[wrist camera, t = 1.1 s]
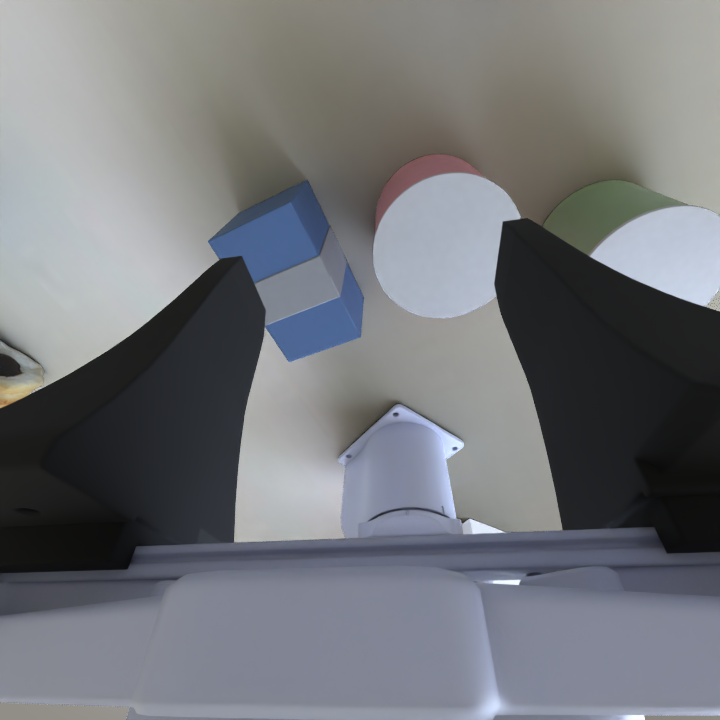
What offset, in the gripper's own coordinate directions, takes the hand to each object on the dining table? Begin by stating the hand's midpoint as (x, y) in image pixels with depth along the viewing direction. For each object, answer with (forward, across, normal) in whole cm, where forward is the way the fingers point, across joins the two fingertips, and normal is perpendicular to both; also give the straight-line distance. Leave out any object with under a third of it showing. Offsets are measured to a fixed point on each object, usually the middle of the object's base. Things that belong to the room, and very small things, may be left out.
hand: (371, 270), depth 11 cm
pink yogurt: (+13, -3, +6) cm, 15 cm away
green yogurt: (+12, -13, +8) cm, 20 cm away
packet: (+13, +5, +7) cm, 16 cm away
